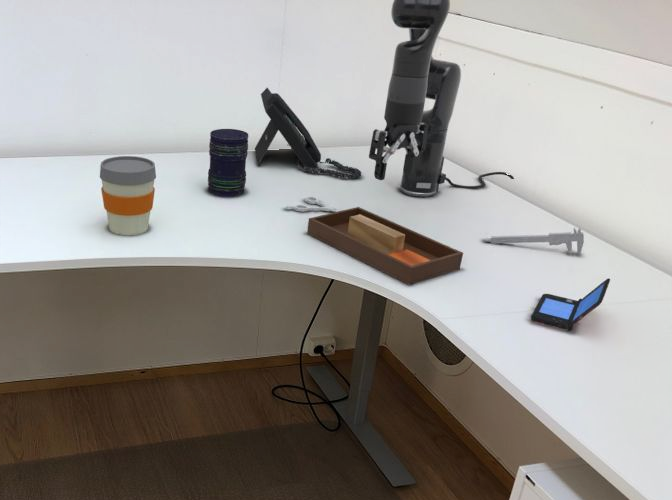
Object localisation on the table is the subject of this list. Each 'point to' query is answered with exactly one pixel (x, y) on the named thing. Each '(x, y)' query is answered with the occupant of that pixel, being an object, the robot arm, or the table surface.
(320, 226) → the tray
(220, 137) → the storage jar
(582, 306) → the handheld console
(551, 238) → the caliper
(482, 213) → the table surface
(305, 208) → the scissors
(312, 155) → the office phone
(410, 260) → the tan and orange bar
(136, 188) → the reusable coffee cup
